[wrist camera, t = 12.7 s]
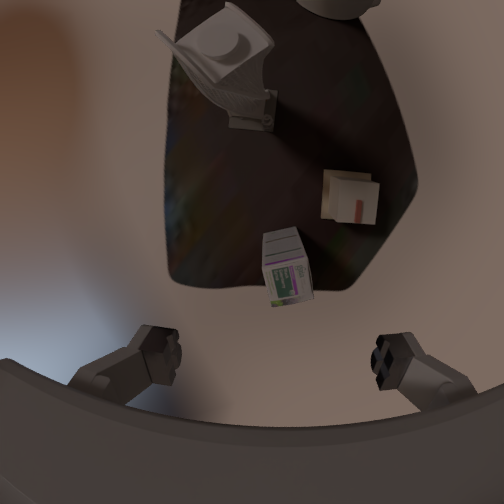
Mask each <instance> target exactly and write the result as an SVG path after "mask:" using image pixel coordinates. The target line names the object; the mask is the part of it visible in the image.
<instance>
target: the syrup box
mask: <svg viewBox="0 0 504 504" xmlns="http://www.w3.org/2000/svg"><path fill="white" fill-rule="evenodd" d="M262 271H263V275H264V279H265V283H266V287H267V291H268V295H269V299H270V303H271V307H277V306H283V305H290V304H295V303H299V302H303V301H307V300H311V299H314V294H313V286H312V277H311V271H310V267H309V261H308V257H307V255H306V252H305V249H304V246H303V244H302V241H301V238H300V236H299V233H298V231H297V228H296V227H291V228H287V229H282V230H277V231H273V232H268V233H264V234H263V253H262Z"/></svg>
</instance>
